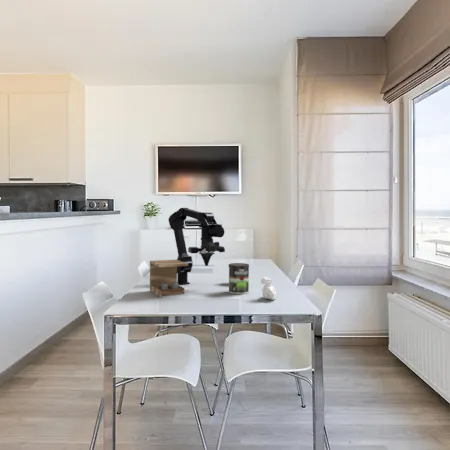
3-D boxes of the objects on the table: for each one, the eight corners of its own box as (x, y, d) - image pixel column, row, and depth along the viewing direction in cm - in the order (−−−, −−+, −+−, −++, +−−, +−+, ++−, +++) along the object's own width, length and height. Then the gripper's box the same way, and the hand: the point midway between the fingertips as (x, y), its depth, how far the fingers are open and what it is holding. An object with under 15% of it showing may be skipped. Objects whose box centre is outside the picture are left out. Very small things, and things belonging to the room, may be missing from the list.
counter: (149, 291, 200) (149, 260, 199) (176, 288, 206) (176, 259, 205) (159, 298, 183) (159, 265, 183) (188, 295, 189) (188, 263, 189)
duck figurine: (267, 300, 189) (253, 281, 189) (280, 290, 189) (266, 272, 189) (269, 306, 177) (254, 286, 177) (282, 296, 177) (267, 276, 177)
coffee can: (251, 293, 194) (251, 265, 194) (231, 294, 192) (231, 266, 191) (245, 289, 204) (245, 262, 204) (226, 290, 202) (226, 263, 201)
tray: (155, 292, 196) (155, 282, 196) (178, 290, 201) (178, 280, 201) (160, 296, 188) (160, 285, 188) (184, 293, 193) (184, 283, 193)
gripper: (194, 237, 195) (194, 269, 196) (229, 237, 203) (228, 267, 203) (187, 236, 206) (187, 266, 206) (220, 235, 213) (220, 264, 214)
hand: (206, 265), depth 207 cm, fingers closed
